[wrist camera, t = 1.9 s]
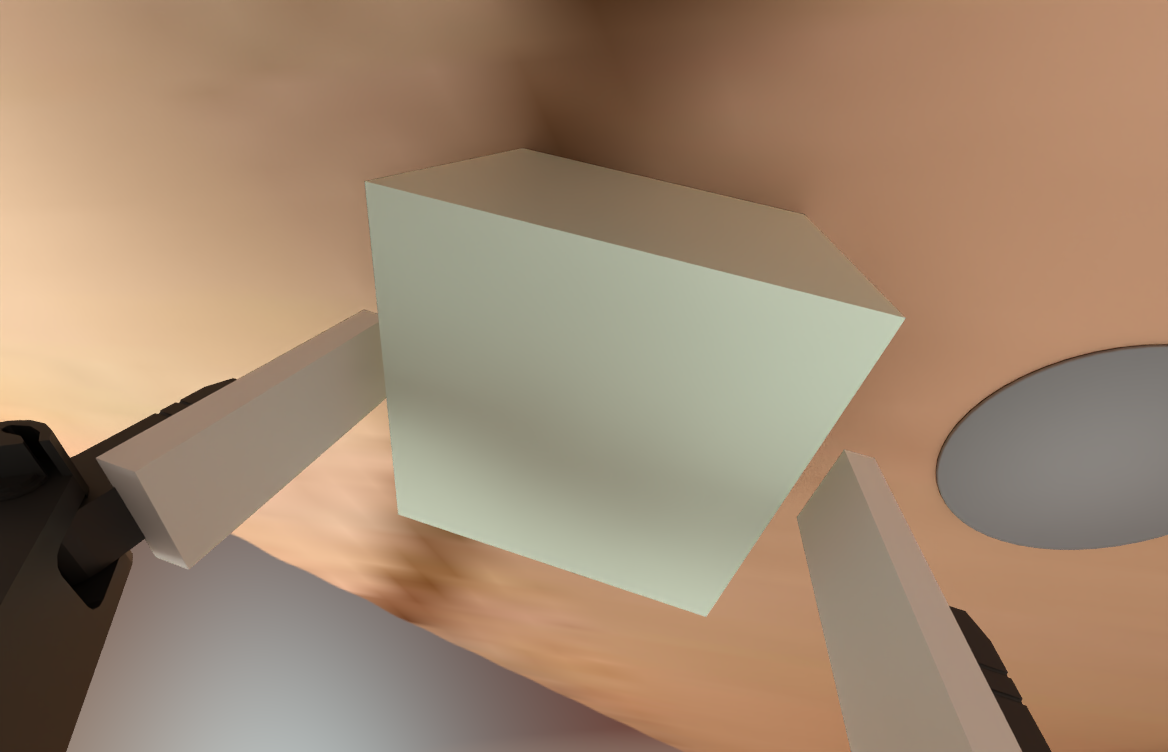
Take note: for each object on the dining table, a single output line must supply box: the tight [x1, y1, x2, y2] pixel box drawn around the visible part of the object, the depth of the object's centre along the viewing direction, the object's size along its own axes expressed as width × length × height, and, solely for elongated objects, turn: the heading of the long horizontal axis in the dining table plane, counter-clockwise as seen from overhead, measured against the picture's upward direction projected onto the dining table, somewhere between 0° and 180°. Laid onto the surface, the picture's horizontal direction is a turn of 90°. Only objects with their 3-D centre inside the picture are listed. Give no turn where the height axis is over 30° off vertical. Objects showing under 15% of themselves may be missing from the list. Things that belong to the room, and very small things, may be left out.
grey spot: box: [936, 345, 1168, 550], centre depth 17 cm, size 10×10×1 cm
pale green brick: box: [365, 148, 905, 617], centre depth 14 cm, size 10×10×9 cm
